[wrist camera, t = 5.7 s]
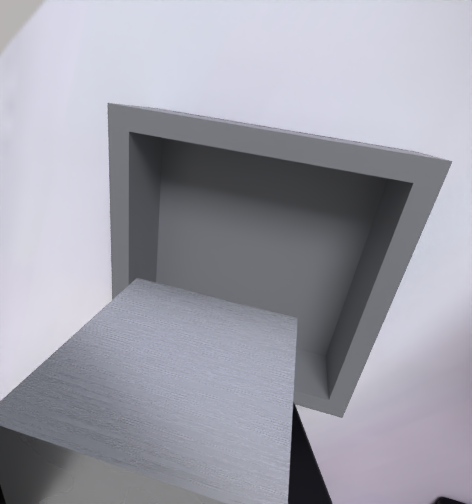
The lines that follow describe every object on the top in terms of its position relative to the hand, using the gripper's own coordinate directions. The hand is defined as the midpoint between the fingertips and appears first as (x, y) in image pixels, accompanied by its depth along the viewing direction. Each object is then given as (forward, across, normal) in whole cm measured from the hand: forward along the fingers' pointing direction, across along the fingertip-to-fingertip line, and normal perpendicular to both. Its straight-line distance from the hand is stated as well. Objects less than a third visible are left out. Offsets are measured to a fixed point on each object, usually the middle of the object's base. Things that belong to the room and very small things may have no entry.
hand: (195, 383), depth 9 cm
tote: (+11, 0, 0) cm, 11 cm away
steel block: (+1, 0, 0) cm, 1 cm away
